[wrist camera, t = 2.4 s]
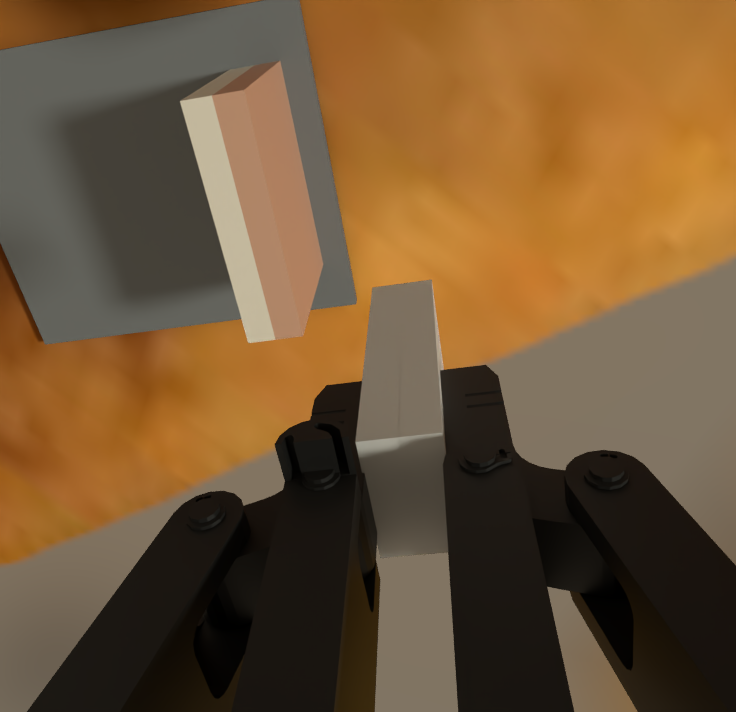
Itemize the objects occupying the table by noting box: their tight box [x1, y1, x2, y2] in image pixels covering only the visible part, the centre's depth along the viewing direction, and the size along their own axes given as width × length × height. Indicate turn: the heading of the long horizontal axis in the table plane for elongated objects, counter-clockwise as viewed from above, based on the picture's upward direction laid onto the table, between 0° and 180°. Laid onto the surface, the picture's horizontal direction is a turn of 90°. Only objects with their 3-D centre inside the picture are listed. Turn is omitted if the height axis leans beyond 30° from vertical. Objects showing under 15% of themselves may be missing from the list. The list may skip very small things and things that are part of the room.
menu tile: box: [180, 61, 323, 343], centre depth 31 cm, size 10×2×8 cm, turn 10°
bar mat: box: [0, 0, 357, 344], centre depth 36 cm, size 15×18×1 cm
